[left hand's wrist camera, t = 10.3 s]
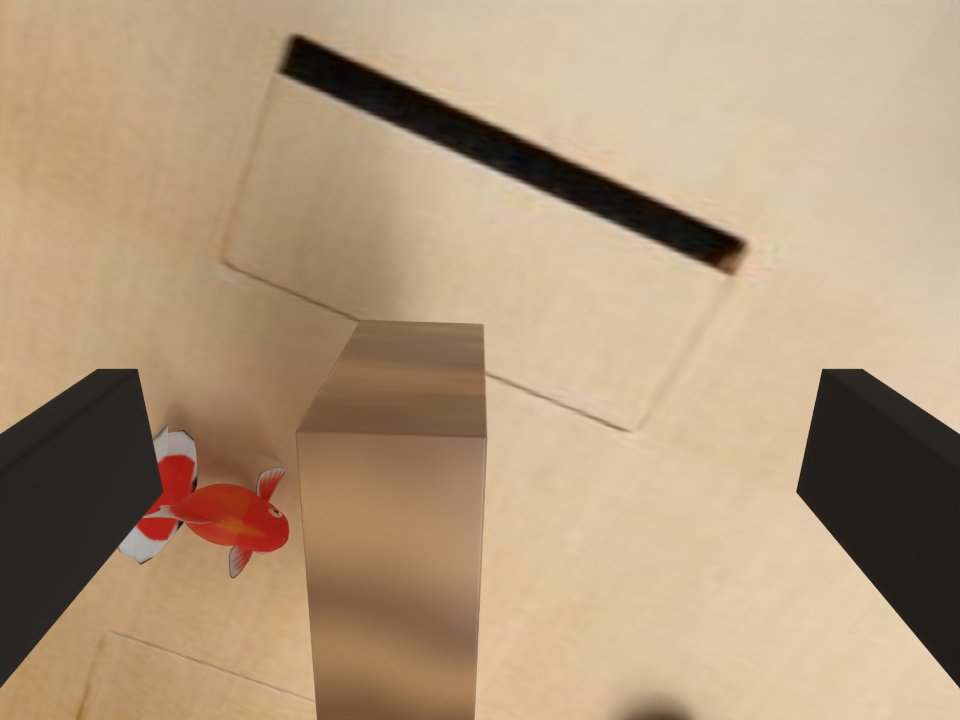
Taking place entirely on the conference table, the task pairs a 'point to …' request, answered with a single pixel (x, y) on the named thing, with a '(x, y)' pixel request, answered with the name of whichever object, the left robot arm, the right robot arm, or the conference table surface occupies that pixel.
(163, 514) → the fish
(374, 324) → the box
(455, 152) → the conference table surface
